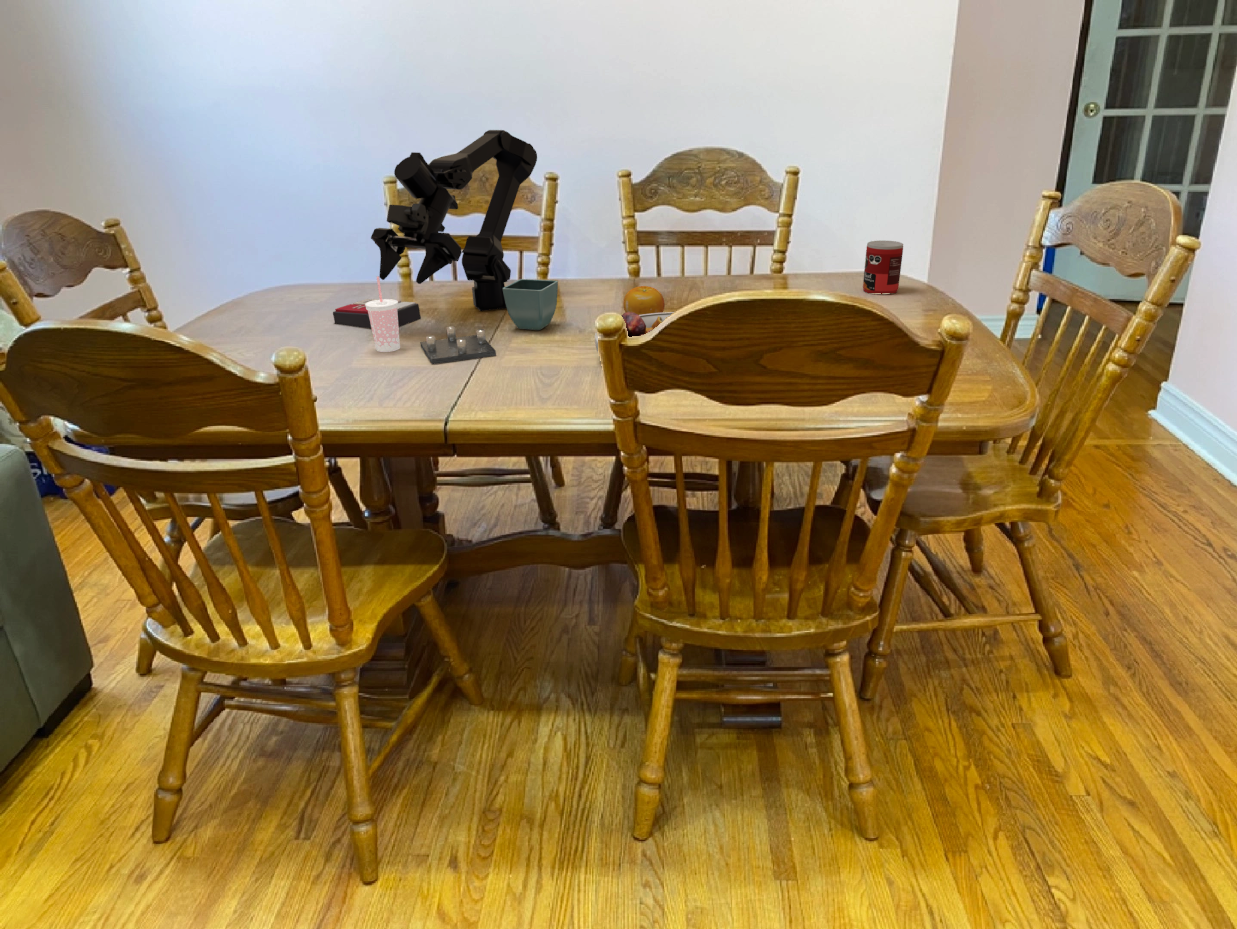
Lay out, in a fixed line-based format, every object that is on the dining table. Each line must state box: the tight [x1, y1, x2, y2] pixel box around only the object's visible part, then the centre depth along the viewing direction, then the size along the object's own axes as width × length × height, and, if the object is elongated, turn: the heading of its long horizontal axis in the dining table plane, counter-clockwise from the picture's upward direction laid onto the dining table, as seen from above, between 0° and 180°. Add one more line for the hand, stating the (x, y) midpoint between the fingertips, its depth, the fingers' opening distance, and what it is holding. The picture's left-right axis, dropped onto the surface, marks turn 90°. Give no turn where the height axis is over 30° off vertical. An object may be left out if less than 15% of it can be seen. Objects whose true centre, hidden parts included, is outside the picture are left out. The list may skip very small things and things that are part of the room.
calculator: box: [332, 298, 422, 330], centre depth 182 cm, size 11×4×15 cm
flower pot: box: [503, 278, 559, 331], centre depth 174 cm, size 9×9×9 cm
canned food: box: [862, 240, 904, 294], centre depth 194 cm, size 8×8×11 cm
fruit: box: [622, 285, 666, 315], centre depth 178 cm, size 8×8×8 cm
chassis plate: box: [419, 325, 497, 365], centre depth 161 cm, size 12×12×4 cm
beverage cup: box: [365, 275, 401, 353], centre depth 161 cm, size 6×6×14 cm
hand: (399, 280), depth 164 cm, fingers open, 9 cm apart
